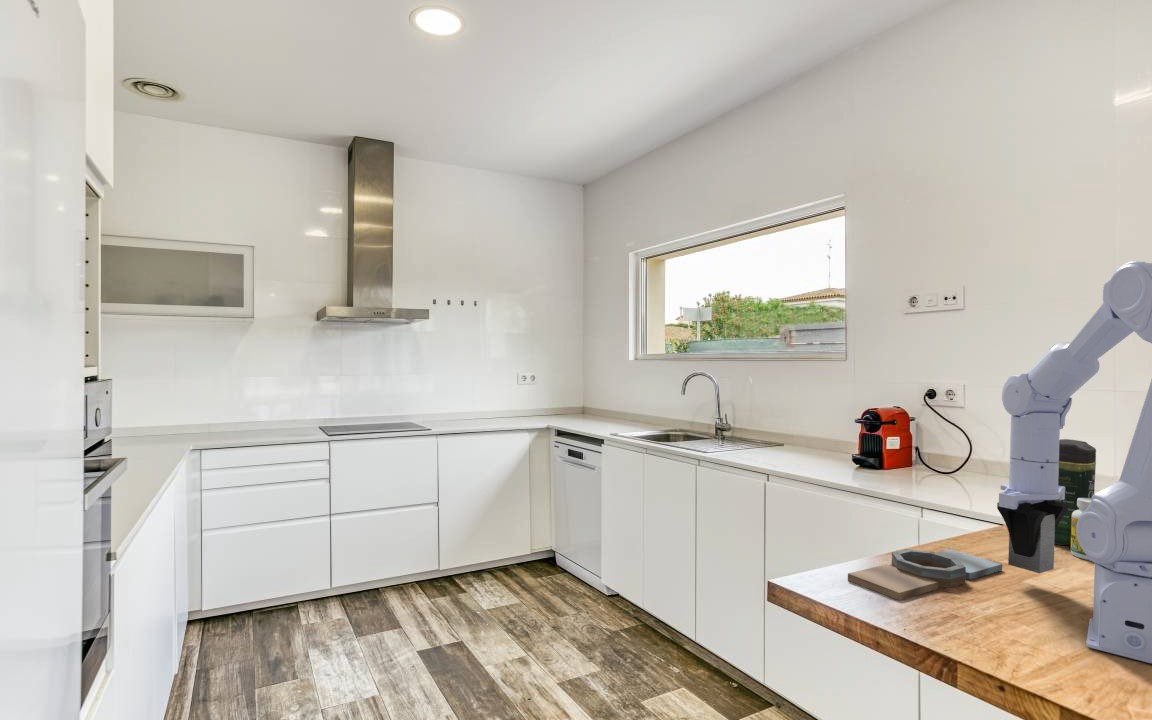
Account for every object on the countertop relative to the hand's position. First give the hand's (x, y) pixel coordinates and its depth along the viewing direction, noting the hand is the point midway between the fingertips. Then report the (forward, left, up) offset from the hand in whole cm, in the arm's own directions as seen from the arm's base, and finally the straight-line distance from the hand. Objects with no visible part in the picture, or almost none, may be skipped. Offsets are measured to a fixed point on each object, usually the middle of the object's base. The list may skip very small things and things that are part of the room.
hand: (1031, 552), depth 89 cm
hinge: (-6, +12, -5) cm, 14 cm away
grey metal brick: (0, 0, -2) cm, 2 cm away
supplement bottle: (+24, -6, -5) cm, 25 cm away
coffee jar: (+33, -2, -5) cm, 33 cm away
